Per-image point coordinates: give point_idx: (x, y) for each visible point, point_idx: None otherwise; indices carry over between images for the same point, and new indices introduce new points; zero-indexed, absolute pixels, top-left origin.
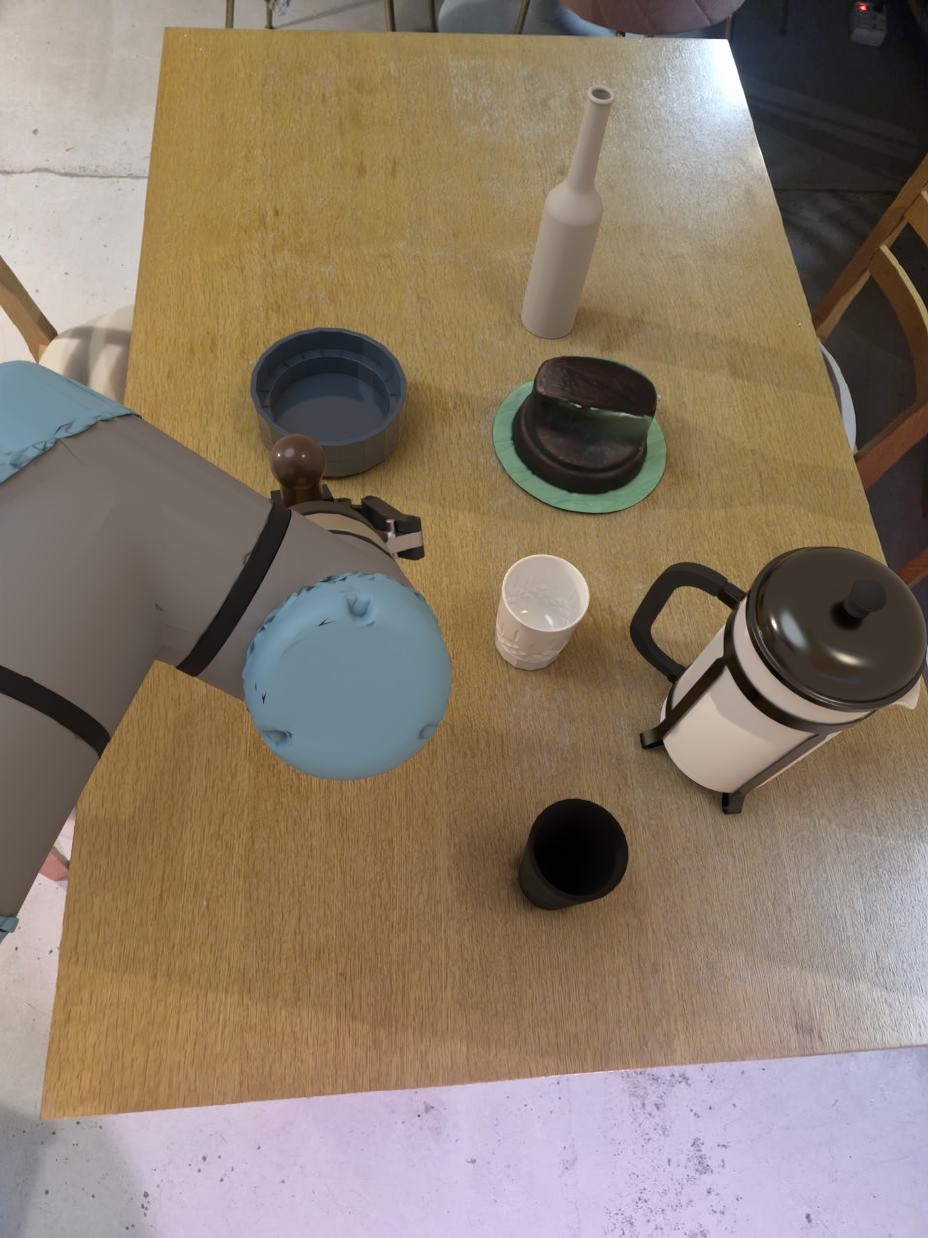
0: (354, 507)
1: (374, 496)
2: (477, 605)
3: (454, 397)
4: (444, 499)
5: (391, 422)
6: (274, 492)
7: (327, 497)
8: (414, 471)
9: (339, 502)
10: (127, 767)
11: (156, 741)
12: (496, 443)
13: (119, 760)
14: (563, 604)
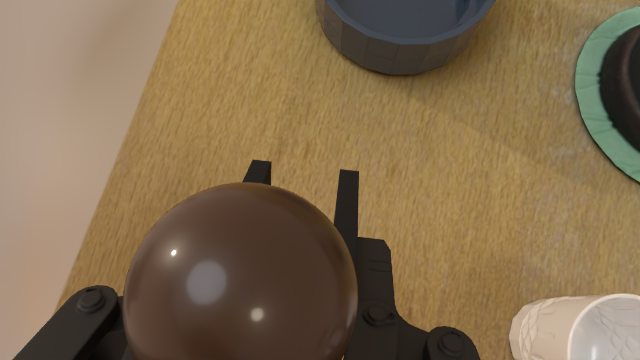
0: (402, 352)
1: (465, 335)
2: (500, 276)
3: (542, 6)
4: (497, 130)
5: (470, 28)
6: (255, 171)
7: None
8: (472, 87)
9: (366, 336)
10: None
11: None
12: (578, 76)
13: None
14: (624, 338)
